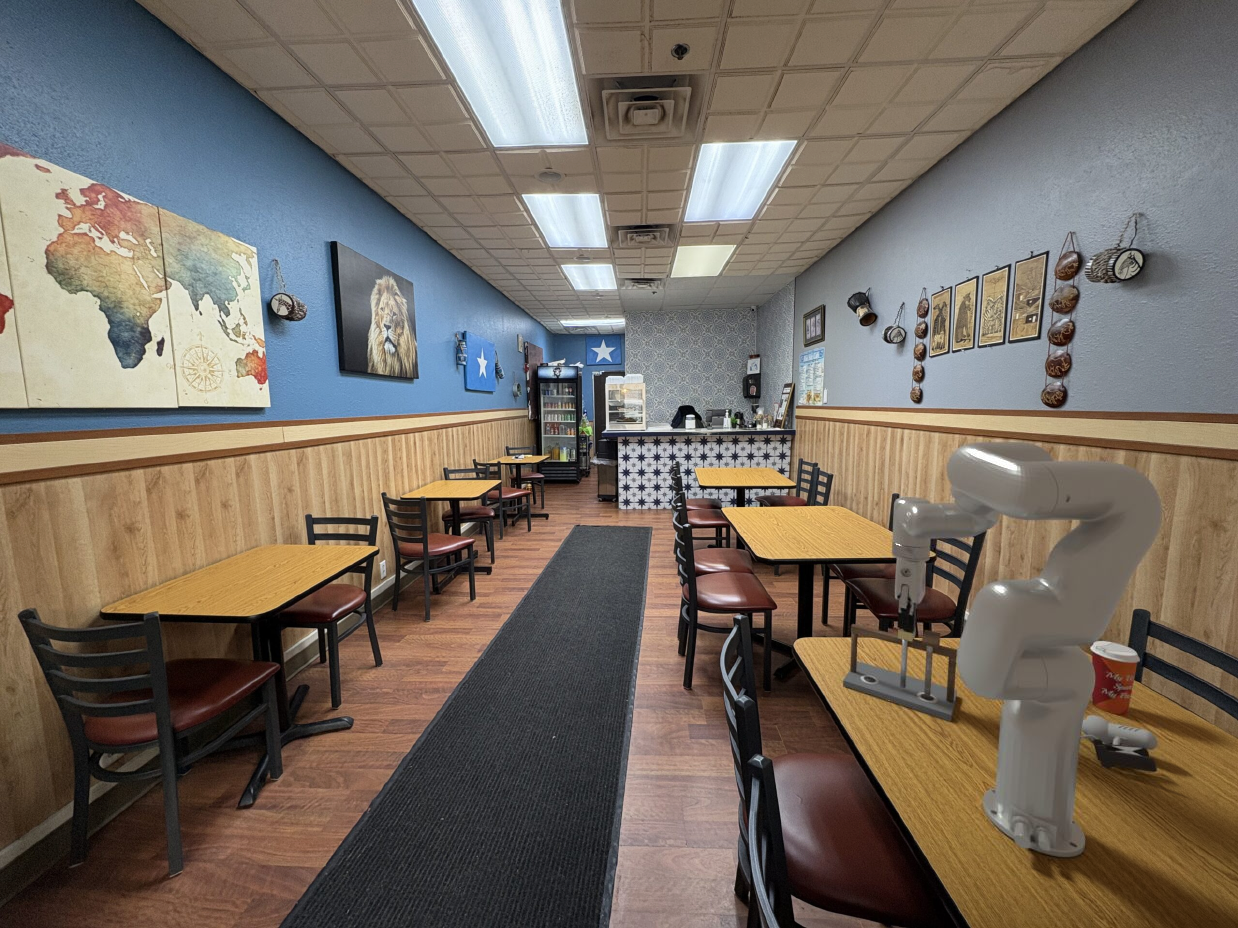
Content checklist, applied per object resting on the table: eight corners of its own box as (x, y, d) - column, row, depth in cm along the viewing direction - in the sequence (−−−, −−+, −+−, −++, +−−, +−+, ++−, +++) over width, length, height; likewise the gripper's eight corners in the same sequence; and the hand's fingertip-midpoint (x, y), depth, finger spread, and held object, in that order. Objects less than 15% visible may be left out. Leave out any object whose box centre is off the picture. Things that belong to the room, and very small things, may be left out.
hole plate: (950, 721, 104) (951, 714, 104) (843, 685, 118) (843, 679, 118) (956, 696, 113) (957, 689, 113) (855, 665, 127) (856, 660, 127)
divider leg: (910, 691, 112) (914, 609, 110) (894, 686, 114) (898, 605, 112) (913, 683, 115) (917, 603, 113) (898, 678, 117) (901, 600, 115)
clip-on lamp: (1029, 751, 99) (1159, 783, 85) (1022, 721, 99) (1150, 748, 85) (1042, 722, 106) (1163, 747, 92) (1035, 694, 106) (1155, 715, 92)
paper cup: (1111, 718, 104) (1116, 657, 103) (1076, 697, 112) (1081, 640, 110) (1145, 717, 104) (1151, 655, 103) (1108, 696, 112) (1114, 639, 111)
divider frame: (952, 706, 107) (956, 644, 105) (847, 674, 121) (849, 618, 119) (954, 697, 110) (958, 637, 109) (852, 666, 124) (854, 613, 123)
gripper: (923, 562, 103) (919, 644, 105) (934, 545, 115) (931, 619, 117) (884, 556, 108) (881, 634, 109) (899, 540, 120) (896, 611, 122)
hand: (907, 625), depth 113 cm, fingers closed on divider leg, 3 cm apart
